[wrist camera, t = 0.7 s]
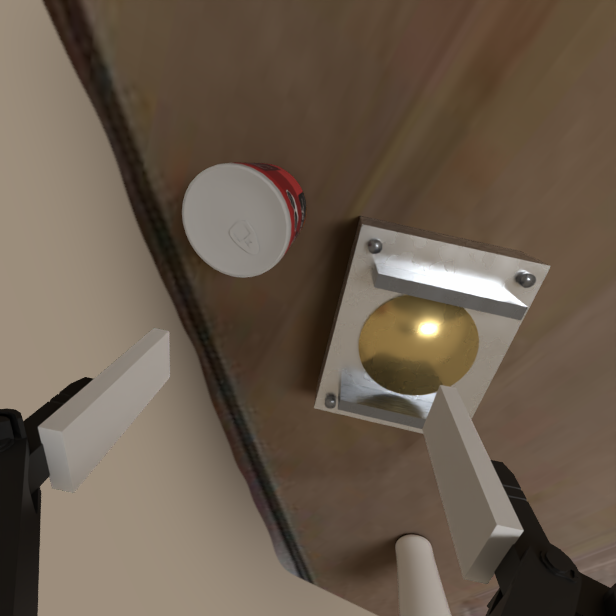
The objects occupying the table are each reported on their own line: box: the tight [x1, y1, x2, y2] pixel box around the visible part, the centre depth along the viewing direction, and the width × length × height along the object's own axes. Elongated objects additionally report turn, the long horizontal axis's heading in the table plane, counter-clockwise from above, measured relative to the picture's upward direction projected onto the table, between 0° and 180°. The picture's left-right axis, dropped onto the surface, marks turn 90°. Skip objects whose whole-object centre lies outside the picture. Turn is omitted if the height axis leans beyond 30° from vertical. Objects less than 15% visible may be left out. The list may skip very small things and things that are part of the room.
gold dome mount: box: [314, 216, 551, 434], centre depth 33 cm, size 20×16×8 cm
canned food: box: [182, 162, 306, 277], centre depth 28 cm, size 8×8×11 cm
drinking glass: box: [395, 534, 451, 616], centre depth 44 cm, size 7×7×15 cm
